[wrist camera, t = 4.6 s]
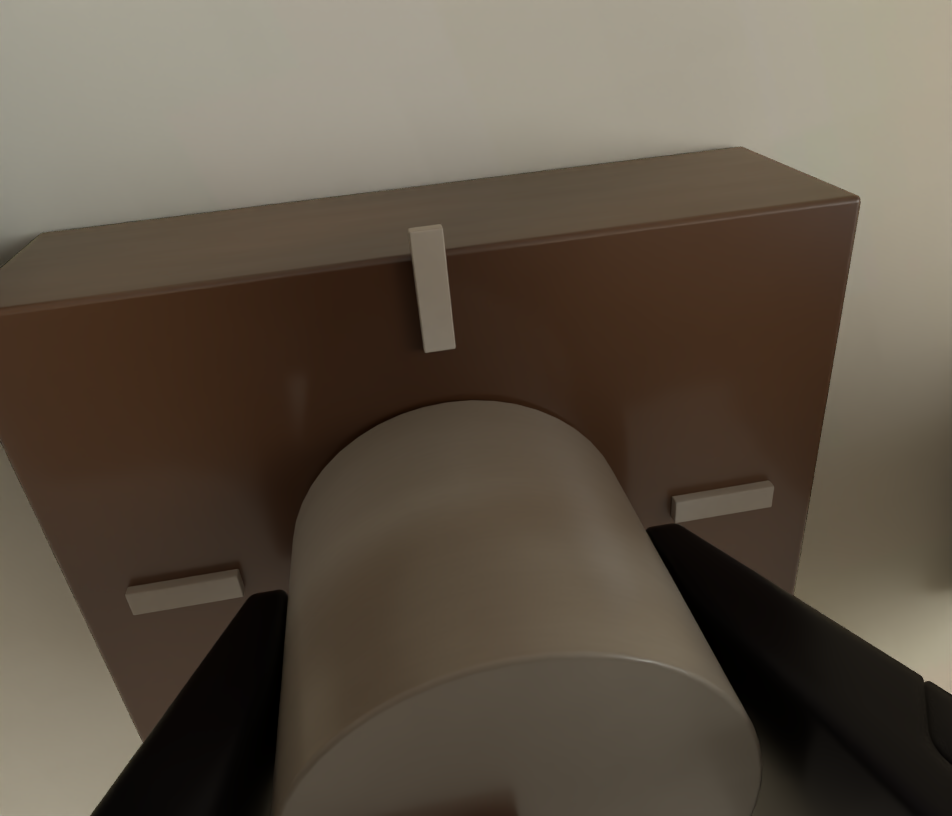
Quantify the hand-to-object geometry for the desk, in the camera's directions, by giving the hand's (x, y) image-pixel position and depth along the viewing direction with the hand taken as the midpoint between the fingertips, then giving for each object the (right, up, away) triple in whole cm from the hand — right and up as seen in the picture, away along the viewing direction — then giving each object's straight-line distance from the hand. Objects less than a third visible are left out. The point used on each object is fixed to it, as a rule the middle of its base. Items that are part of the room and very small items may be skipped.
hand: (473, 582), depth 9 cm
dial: (0, 0, +1) cm, 1 cm away
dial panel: (-1, +2, +3) cm, 4 cm away
